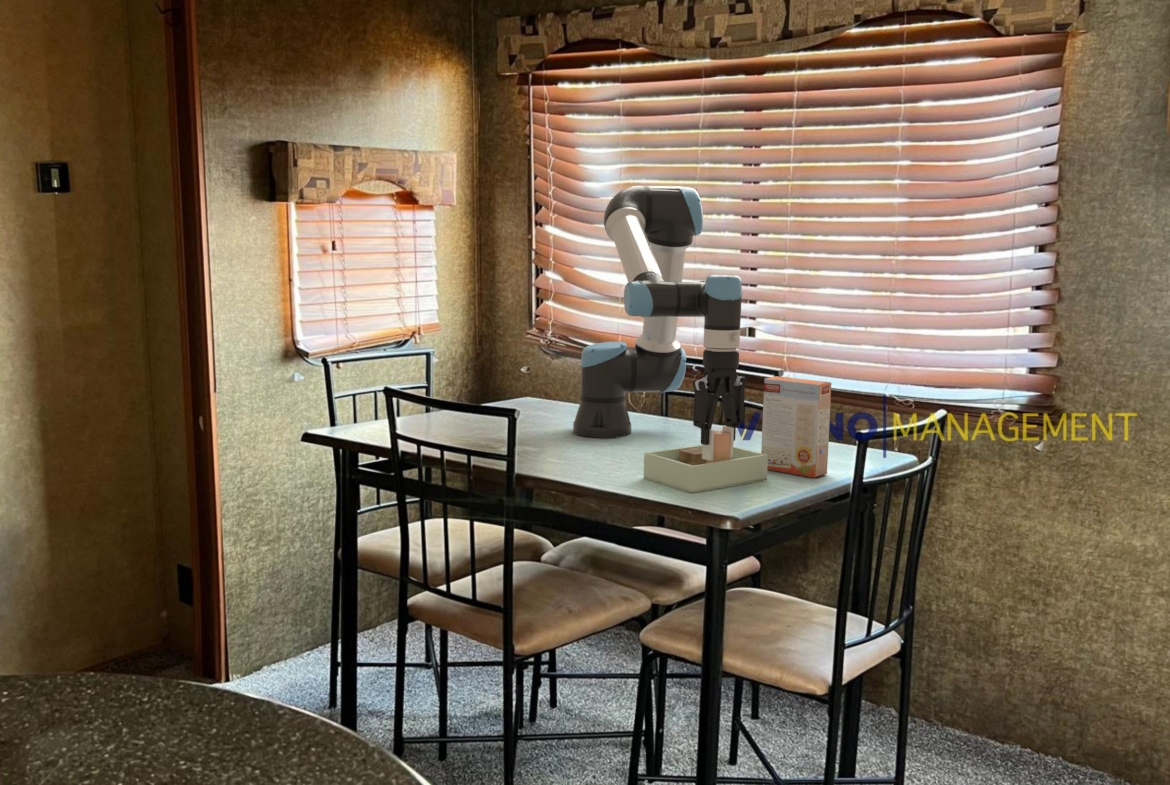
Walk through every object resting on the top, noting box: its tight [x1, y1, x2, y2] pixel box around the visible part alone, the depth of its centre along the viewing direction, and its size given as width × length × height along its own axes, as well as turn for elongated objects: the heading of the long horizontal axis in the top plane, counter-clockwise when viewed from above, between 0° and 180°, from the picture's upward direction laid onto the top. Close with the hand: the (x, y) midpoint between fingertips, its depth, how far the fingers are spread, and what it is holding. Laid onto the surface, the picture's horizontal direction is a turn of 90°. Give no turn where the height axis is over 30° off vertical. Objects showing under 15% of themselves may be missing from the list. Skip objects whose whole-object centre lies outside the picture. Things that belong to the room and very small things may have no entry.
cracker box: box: [760, 375, 832, 479], centre depth 249 cm, size 14×6×21 cm, turn 49°
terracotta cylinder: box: [706, 430, 731, 463], centre depth 238 cm, size 5×5×7 cm
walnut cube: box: [679, 448, 706, 465], centre depth 244 cm, size 5×5×5 cm
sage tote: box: [643, 444, 768, 494], centre depth 241 cm, size 16×22×6 cm
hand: (717, 457), depth 238 cm, fingers closed on terracotta cylinder, 5 cm apart
